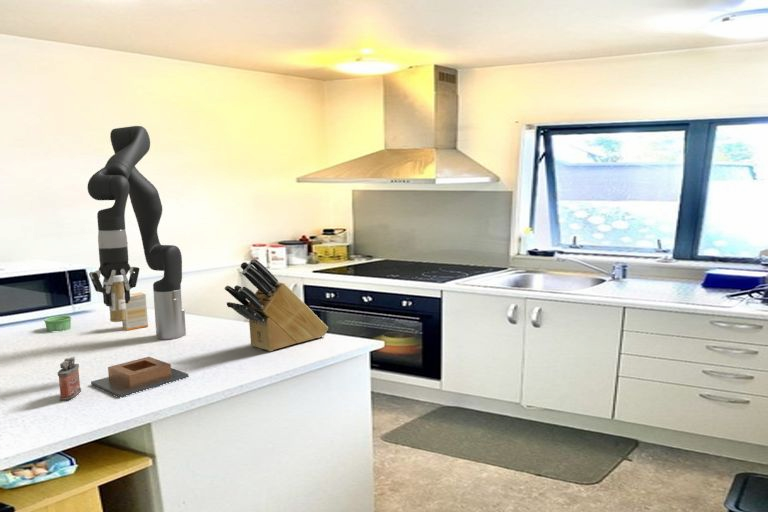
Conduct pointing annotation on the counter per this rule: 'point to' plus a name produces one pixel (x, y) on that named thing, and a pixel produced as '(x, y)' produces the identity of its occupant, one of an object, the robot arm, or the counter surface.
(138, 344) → the counter surface
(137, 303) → the supplement box
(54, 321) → the ramekin
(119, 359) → the counter surface
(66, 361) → the lighter
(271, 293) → the knife block
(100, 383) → the collar deck
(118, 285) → the spice jar
